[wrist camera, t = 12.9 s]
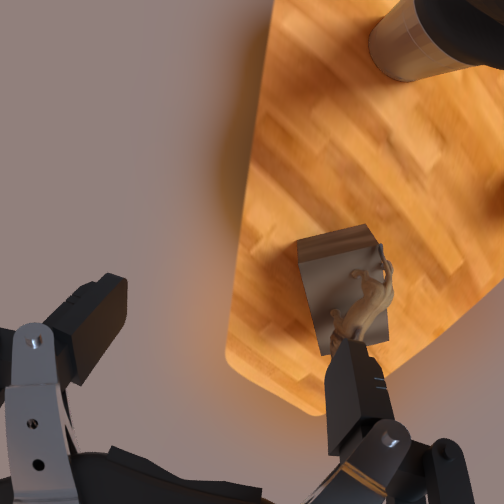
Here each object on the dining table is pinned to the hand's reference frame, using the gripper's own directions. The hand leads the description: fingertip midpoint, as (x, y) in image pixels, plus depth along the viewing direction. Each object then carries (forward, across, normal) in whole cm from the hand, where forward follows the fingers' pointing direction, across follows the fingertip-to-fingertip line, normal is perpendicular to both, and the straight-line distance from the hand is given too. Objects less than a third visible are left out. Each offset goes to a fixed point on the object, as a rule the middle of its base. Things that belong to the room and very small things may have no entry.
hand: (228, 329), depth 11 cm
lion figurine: (+26, -14, +11) cm, 31 cm away
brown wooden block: (+33, -14, +12) cm, 38 cm away
